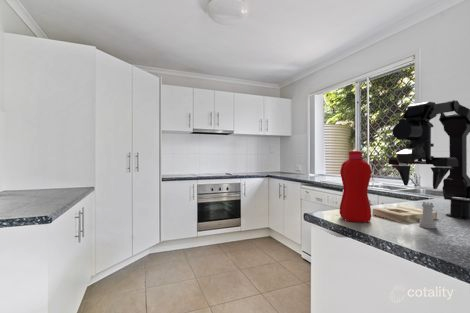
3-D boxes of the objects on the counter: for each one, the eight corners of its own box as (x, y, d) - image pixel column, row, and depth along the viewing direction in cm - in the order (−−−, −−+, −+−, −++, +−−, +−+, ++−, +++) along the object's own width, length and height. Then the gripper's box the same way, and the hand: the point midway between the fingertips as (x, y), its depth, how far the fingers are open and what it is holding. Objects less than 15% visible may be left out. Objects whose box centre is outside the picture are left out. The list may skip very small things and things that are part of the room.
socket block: (404, 211, 100) (404, 205, 100) (437, 218, 88) (437, 212, 88) (372, 214, 94) (372, 208, 94) (402, 222, 82) (402, 215, 82)
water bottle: (379, 223, 81) (380, 150, 81) (347, 223, 82) (347, 150, 82) (366, 217, 90) (367, 151, 90) (337, 216, 91) (337, 151, 91)
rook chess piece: (439, 229, 75) (440, 204, 75) (423, 228, 76) (424, 203, 76) (431, 225, 79) (431, 201, 79) (416, 224, 80) (416, 201, 80)
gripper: (377, 141, 86) (376, 184, 86) (434, 138, 68) (434, 192, 68) (399, 142, 89) (399, 183, 89) (459, 139, 72) (459, 190, 72)
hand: (419, 187), depth 80 cm, fingers open, 9 cm apart
